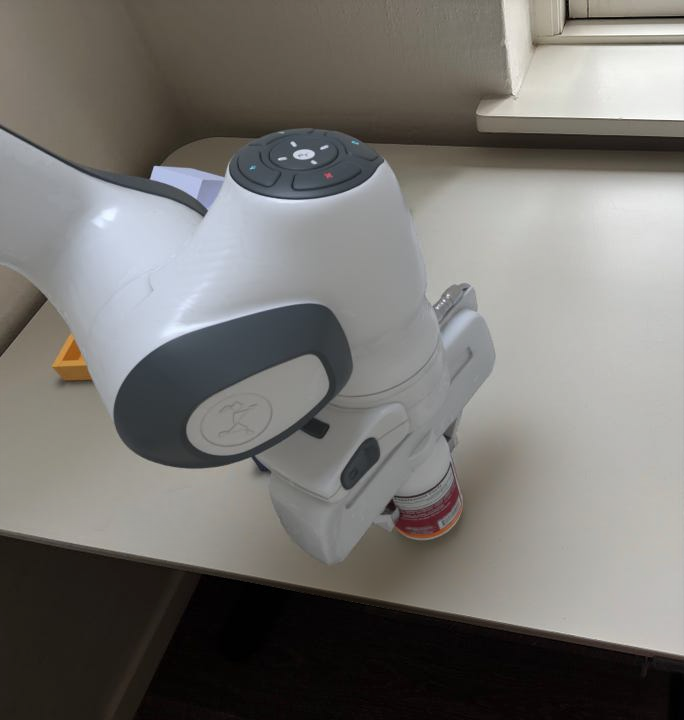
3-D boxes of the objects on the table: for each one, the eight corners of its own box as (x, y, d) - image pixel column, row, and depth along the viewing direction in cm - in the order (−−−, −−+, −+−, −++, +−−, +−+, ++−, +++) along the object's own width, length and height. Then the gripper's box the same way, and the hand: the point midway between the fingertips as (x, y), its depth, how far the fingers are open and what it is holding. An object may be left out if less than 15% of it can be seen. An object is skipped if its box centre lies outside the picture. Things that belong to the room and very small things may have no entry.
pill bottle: (390, 480, 61) (359, 402, 53) (462, 472, 61) (442, 392, 53) (389, 547, 57) (355, 474, 49) (465, 539, 57) (444, 464, 49)
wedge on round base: (153, 230, 92) (226, 254, 87) (127, 186, 87) (203, 210, 82) (201, 189, 96) (273, 210, 91) (179, 146, 91) (254, 165, 86)
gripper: (433, 256, 52) (459, 377, 62) (230, 467, 42) (301, 569, 52) (506, 283, 49) (521, 404, 60) (308, 516, 39) (367, 613, 49)
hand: (417, 483), depth 56 cm, fingers closed on pill bottle, 6 cm apart
